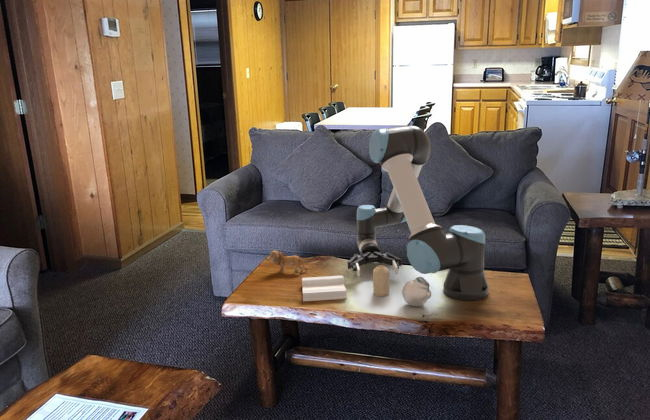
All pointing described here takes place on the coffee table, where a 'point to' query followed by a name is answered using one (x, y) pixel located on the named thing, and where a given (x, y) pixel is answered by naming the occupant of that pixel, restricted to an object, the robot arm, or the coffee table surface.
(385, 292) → the candle
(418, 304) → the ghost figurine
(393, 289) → the coffee table surface
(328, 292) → the tray
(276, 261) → the lion figurine
